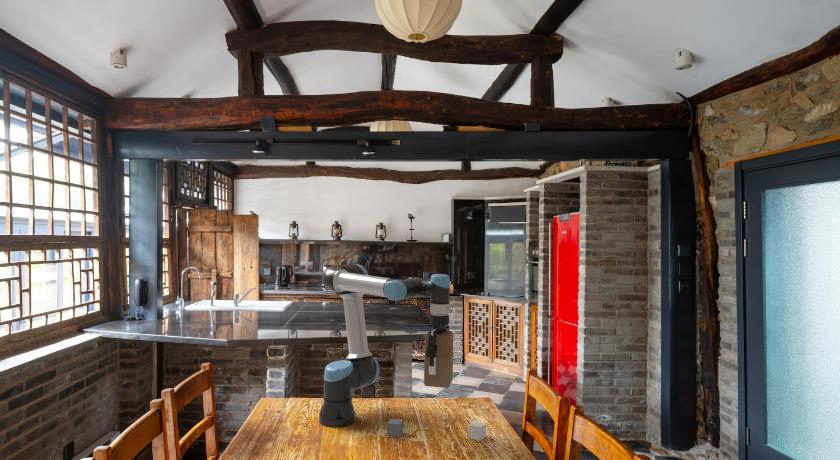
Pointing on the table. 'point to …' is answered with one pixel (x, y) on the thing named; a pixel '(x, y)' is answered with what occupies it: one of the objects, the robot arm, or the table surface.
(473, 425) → the white cube
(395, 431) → the slate cube
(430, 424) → the table surface
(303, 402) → the table surface
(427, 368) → the block
